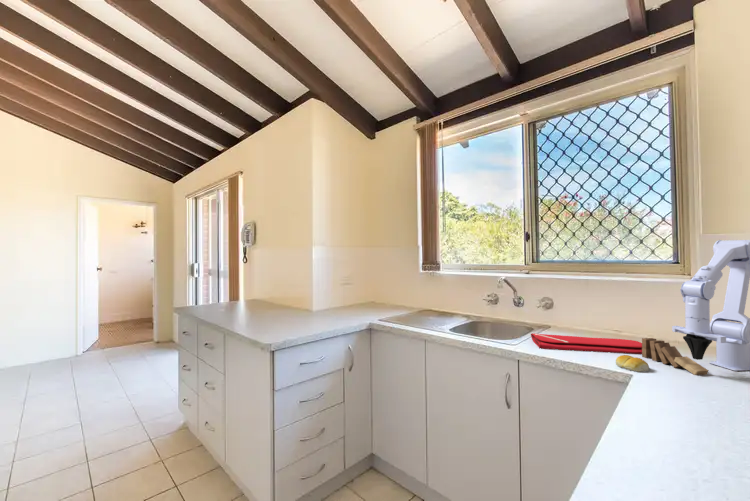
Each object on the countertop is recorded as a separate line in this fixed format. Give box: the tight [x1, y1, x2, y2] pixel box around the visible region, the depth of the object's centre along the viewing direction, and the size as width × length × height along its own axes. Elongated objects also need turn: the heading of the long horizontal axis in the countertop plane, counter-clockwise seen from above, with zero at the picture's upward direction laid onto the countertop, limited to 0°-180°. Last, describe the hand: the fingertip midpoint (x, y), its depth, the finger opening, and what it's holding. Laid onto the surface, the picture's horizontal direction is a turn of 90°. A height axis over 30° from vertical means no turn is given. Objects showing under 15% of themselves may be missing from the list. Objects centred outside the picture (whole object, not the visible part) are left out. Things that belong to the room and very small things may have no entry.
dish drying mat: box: [530, 332, 642, 355], centre depth 138 cm, size 16×41×4 cm, turn 77°
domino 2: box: [650, 339, 666, 362], centre depth 120 cm, size 4×2×7 cm, turn 97°
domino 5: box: [674, 356, 710, 376], centre depth 109 cm, size 4×2×7 cm
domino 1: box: [641, 337, 657, 359], centre depth 123 cm, size 4×2×7 cm, turn 97°
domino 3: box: [654, 342, 672, 365], centre depth 117 cm, size 4×2×7 cm, turn 97°
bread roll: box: [615, 354, 650, 373], centre depth 113 cm, size 8×9×4 cm
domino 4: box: [661, 345, 683, 369], centre depth 114 cm, size 4×2×7 cm
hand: (697, 358), depth 107 cm, fingers closed
